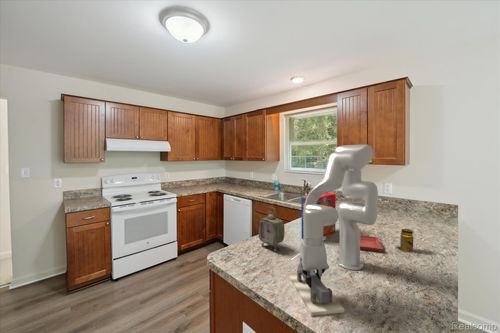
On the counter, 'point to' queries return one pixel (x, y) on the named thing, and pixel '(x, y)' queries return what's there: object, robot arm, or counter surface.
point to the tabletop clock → (271, 229)
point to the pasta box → (324, 200)
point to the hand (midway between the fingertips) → (313, 284)
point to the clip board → (314, 297)
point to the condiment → (406, 241)
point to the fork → (295, 256)
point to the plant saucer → (370, 243)
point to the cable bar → (318, 287)
